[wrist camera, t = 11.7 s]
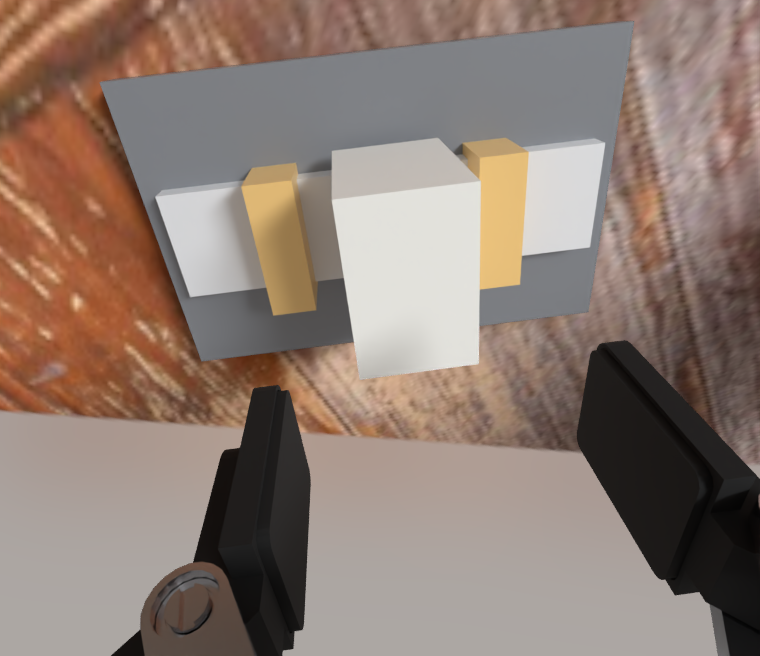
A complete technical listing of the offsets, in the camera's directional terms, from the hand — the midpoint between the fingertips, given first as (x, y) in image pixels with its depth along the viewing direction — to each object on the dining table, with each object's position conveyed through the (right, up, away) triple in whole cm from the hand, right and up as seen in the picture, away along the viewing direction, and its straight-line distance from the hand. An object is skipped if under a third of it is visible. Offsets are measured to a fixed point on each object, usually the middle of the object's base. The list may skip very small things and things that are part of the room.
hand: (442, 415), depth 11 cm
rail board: (-1, +8, +13) cm, 16 cm away
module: (-1, +7, +11) cm, 13 cm away
